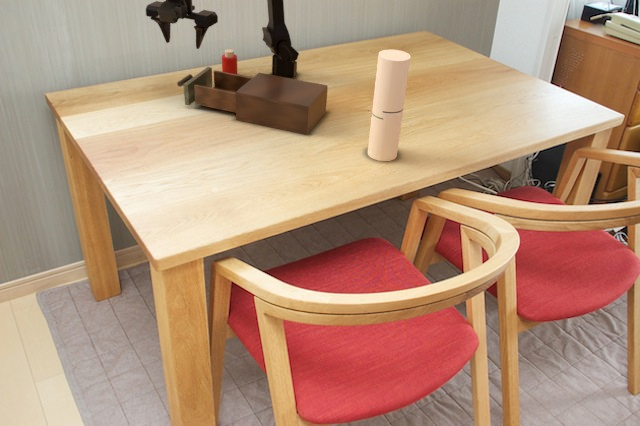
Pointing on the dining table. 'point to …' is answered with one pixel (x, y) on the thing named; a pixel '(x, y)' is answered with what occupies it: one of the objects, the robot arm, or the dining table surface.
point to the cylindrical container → (388, 104)
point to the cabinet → (281, 103)
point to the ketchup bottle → (229, 62)
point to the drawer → (213, 89)
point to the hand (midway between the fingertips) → (182, 45)
